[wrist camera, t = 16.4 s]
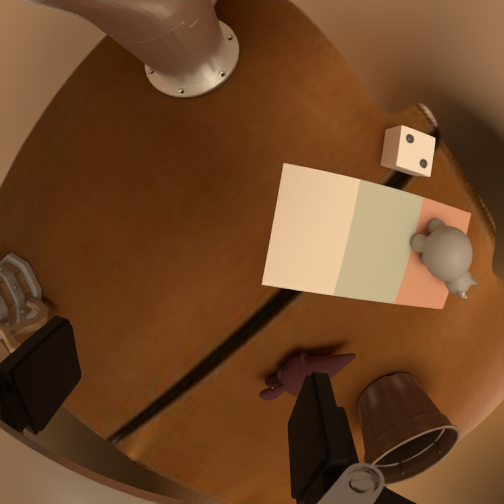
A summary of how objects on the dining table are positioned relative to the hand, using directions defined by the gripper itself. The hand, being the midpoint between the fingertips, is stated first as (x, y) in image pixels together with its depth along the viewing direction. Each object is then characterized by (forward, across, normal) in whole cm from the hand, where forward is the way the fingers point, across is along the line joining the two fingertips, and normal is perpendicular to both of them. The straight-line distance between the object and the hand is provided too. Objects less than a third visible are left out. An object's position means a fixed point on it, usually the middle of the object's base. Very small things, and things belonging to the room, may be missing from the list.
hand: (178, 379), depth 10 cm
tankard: (+29, +37, +18) cm, 50 cm away
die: (+28, -19, -14) cm, 37 cm away
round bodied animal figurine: (+28, -29, -1) cm, 40 cm away
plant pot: (+29, -31, +26) cm, 50 cm away
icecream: (+29, -13, +19) cm, 37 cm away
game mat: (+28, -19, -1) cm, 34 cm away
